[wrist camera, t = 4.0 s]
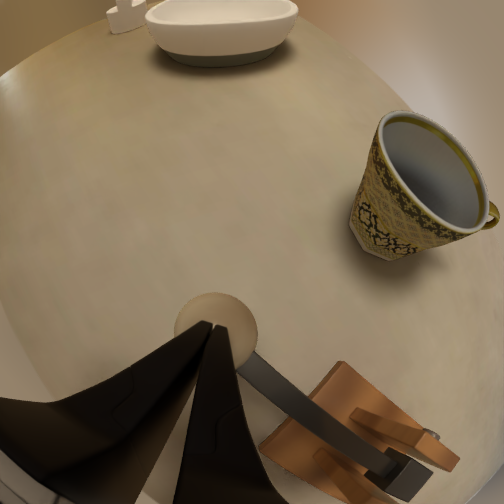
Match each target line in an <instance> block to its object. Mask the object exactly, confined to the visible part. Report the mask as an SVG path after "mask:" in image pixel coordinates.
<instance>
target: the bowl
mask: <svg viewBox="0 0 504 504" xmlns="http://www.w3.org/2000/svg"><path fill="white" fill-rule="evenodd" d="M297 14H298V8H297V6H296V5H295V4H294V3H293V2H291V1H289V0H166V1H164V2H162V3H160V4H157V5H156V6H154V7H152V8H151V9H150V10H149V11H148V12H147V13H146V15H145V20H146V23H147V26H148V29H149V32H150V34H151V36H152V37H153V39H154V40H155V41H156V43H157V44H158V45H159V46H160V47H161V48H162V49H163V50H164V51H165V52H166V53H168V54H169V55H170V56H171V57H172V58H173V59H174V60H175V61H177V62H179V63H182V64H186V65H191V66H198V67H228V66H237V65H244V64H248V63H253V62H256V61H259V60H262V59H264V58H266V57H267V56H269V55H270V54H271V53H272V52H273V51H274V50H275V49H276V48H277V47H278V46H279V45H280V44H281V43H282V42H283V41H284V40H285V39H286V37H287V36H288V34H289V33H290V31H291V30H292V28H293V26H294V23H295V20H296V17H297Z"/></svg>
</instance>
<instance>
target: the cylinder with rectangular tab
mask: <svg viewBox="0 0 504 504" xmlns="http://www.w3.org/2000/svg"><path fill="white" fill-rule="evenodd" d="M116 4H117V6H115V7H113V8H111V9H110V10H108V11H107V17H108V21H109V25H110V29H111V33H112V34H119V33H124V32H127V31H131V30H134V29H136V28H139V27H141V26H143V25H145V24H146V20H145V15H146V13H147V12H148V11H147V5H146V0H116Z"/></svg>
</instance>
